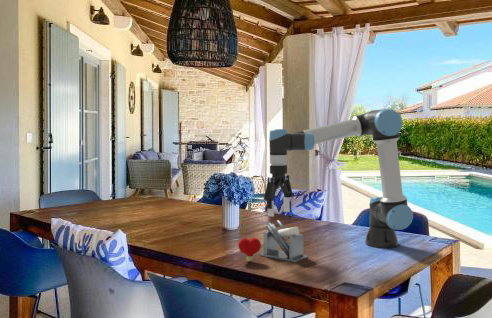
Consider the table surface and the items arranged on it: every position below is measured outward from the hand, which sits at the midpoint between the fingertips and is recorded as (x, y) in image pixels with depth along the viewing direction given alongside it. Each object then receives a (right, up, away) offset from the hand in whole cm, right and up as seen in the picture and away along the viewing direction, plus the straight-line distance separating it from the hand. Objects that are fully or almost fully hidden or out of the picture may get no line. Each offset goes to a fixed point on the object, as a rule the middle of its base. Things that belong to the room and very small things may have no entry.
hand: (278, 214), depth 213 cm
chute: (+2, -18, -1) cm, 18 cm away
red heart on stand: (-13, -19, -10) cm, 25 cm away
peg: (0, -9, 0) cm, 9 cm away
